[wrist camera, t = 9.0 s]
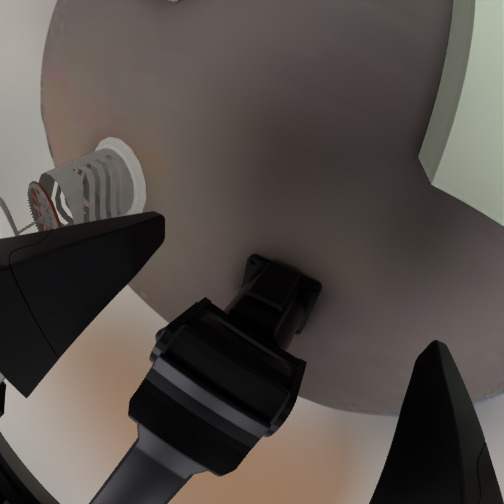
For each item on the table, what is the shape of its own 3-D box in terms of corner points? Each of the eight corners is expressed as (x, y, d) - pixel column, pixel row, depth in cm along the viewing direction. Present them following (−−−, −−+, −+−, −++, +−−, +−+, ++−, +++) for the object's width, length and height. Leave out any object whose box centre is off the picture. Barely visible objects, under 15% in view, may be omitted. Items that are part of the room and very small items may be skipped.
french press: (138, 133, 23) (-110, 274, 4) (157, 241, 29) (-25, 397, 10) (86, 139, 26) (-95, 243, 8) (105, 226, 33) (-43, 340, 14)
